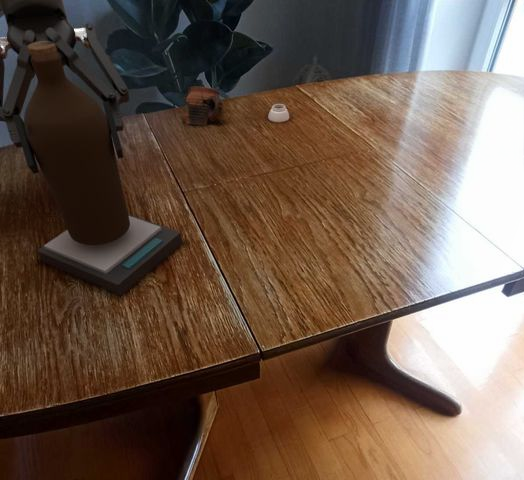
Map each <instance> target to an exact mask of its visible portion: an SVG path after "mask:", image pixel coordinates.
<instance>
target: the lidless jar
mask: <svg viewBox="0 0 524 480" xmlns="http://www.w3.org/2000/svg"><path fill="white" fill-rule="evenodd" d="M267 119H268V120H269V121H271V122H274V123H283V122H286V121H288V120H290V113H289V111H288V109H287V107H286V105H285V104H283V103H274V104H273V105H272V106H271V109H270V110H269V113H268V115H267Z"/></svg>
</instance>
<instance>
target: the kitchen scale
mask: <svg viewBox="0 0 524 480" xmlns="http://www.w3.org/2000/svg"><path fill="white" fill-rule="evenodd" d="M128 216H129V220H130V227H129V229H128V231H127V232H126V233H125V234H124V235H123V236H122V237H120V238H118V239H117V240H115V241H112V242H109V243H106V244H101V245H84V244H81V243H78V242H76V241H74V240H73V239H72V238H71V237H70V235H69V233H68V230H67V229H66V230H64V231H63V232H61V233H60V234H59V235H57V236H56V237H54V238H53V239H51V240H50V241H49V242H47V243H46V244H44V245H43V246H41V247H40V248H38V249H37V250H36V252H37V254H38V256H39V259H40V261H41V262H42V263H44V264H47V265H49V266H50V267H53V268H56V269H58V270H60V271H63V272H65V273H66V274H67V273H68V274H70V275H72V276H74V277H77V278H79V279H81V280H83V281H86V282H89V283H91V284H93V285H95V286H98V287H100V288H102V289H105V290H107V291H109V292H112V293H115V294H116V295H118V296H121V297H122V296H123V295H124V294H126V292H128V291H129V290H130V289H131V288H132V287H133V286H135V285H136V284H138V282H140V280H142V279H143V278H144V277H145V276H146V275H148V274H149V273H150V272H151V271H152V270H153V269H155V267H157V266H158V265H159V264H161V262H163V261H164V260H166V258H167V257H168V256H170V255H171V254H172V253H173V252H174V251H175V250H177V249H178V248H179V247H181V245H183V244H184V242H183V238H182V233H181V231H178V230H175V229H172V228H169V227H166V226H165V225H160V224H158V223H155V222H152V221H149V220H147V219H143V218H140V217H137V216H135V215H132V214H129V213H128Z"/></svg>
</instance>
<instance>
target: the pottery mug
mask: <svg viewBox="0 0 524 480" xmlns="http://www.w3.org/2000/svg"><path fill="white" fill-rule="evenodd" d="M186 90H187V93H186V94H185V95H184V98H183V99H182V100H183V102H184V101H185V102H186V104H187V111H188V113H184V114H183V115H184V117H183V119H184V122H185V124H186V125H193V126H199V127H205V126H207V125H208V119H209V121H211V122H212V123H213V122H216V121H217V120H218V118H219V117H220V115H221V113H222V112H223V107H224V106H223V105H224V104H223V101H222V99H221V98H220V97H219V96H220V91H219V90H217V89H215V88H212V87H207V86H197V85H196V86H195V85H194V86H189V87H188V88H187V89H186Z"/></svg>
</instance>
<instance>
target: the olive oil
mask: <svg viewBox="0 0 524 480" xmlns="http://www.w3.org/2000/svg"><path fill="white" fill-rule="evenodd" d="M27 48H28V51H29V54H30V55H31V58H32V59H31V63H32V66H33V68H34V71H35V76H36V78H37V84H36V86H35V89H34V91H33V93H32V95H31V97H30V99H29V101H28V103H27V105H26V106H25V107H26V108H25V111H24V116H23V122H24V126H25V133H26V137H27V140H28V142H29V144H30V146H31V149H32V151H33V153H34V156H35V160H36V163H37V165H38V166H39V168H40V171H41V173H42V175H43V178H44V179H45V182H46V184H47V186H48V188H49V191H50V193H51V195H52V197H53V200H54V202H55V204H56V207H57V208H58V211H59V213H60V216H61V218H62V220H63V223H64V226H65V227H66V230H68V233H69V235H70V237H71V238H72V239H73V240H74V241H76V242H78V243H81V244H84V245H101V244H106V243H109V242H112V241H115V240H117V239H118V238H120V237H122V236H123V235H124V234H125V233H126V232H127V231H128V229H129V227H130V220H129V216H128V214H129V212H128V207H127V204H126V199H125V194H124V190H123V185H122V180H121V176H120V175H121V174H120V170H119V166H118V161H117V157H116V156H117V155H116V150H115V146H114V142H113V138H112V135H111V131H110V127H109V123H108V120H107V117H106V113H105V111H104V110H103V108H102V107H101V105H100V103H98V101H97V100H95V98H93V97H92V96H91V95H90V94H88V93H87V92H85V91H84V90H83V89H82V88H80V87H79V86H77V84H75V83H74V82H72V81H71V80H70V79H69V78H68V77H67V75H66V73H65V69H64V68H63V67H64V66H63V65H62V62H61V58H60V56H59V55H58V54H57V48H56V45H55V43H54V42H51V41H39V42H34V43H31V44H29V45H28V46H27Z"/></svg>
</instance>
